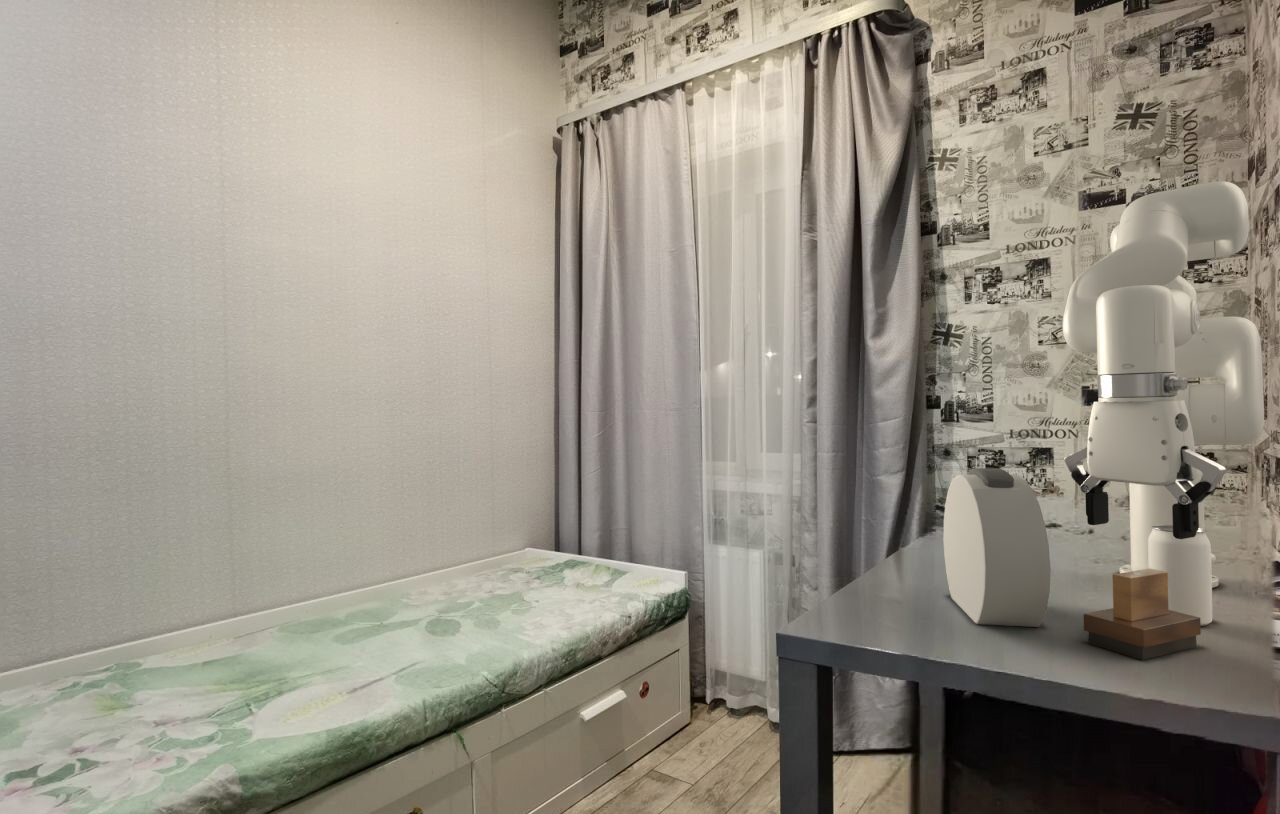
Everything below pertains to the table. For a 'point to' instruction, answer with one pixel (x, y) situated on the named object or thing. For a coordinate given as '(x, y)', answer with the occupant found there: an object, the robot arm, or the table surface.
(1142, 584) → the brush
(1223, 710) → the table surface
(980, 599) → the alarm clock
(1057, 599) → the table surface
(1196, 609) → the can
